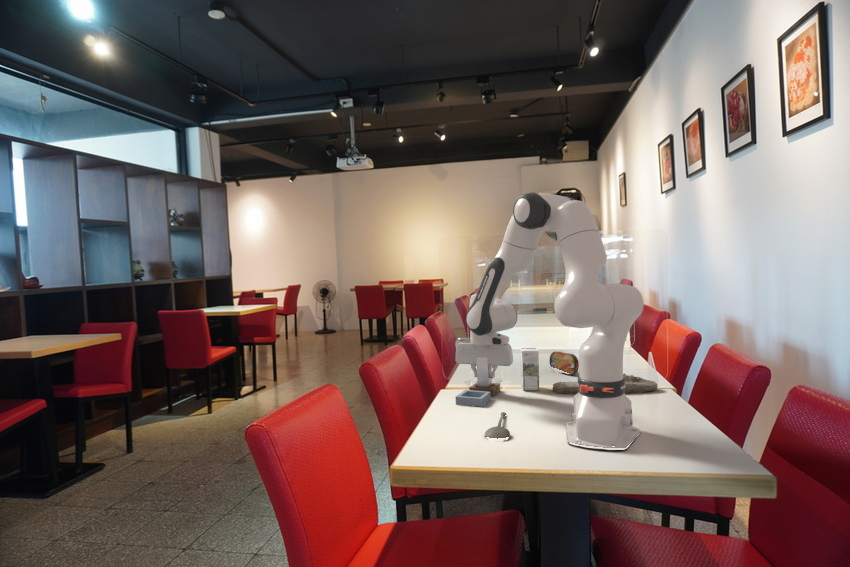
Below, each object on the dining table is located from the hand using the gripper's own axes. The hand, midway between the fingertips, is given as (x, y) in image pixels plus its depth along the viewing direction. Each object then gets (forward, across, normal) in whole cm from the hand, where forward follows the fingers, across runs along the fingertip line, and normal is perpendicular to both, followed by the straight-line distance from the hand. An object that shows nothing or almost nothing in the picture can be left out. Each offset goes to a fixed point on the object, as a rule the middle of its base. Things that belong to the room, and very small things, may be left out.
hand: (484, 377), depth 182 cm
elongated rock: (+6, +38, +14) cm, 41 cm away
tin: (+6, +21, +37) cm, 43 cm away
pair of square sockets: (+5, 0, -6) cm, 8 cm away
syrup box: (+6, +14, +9) cm, 18 cm away
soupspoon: (+6, +16, -34) cm, 38 cm away
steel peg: (+5, 0, 0) cm, 5 cm away
